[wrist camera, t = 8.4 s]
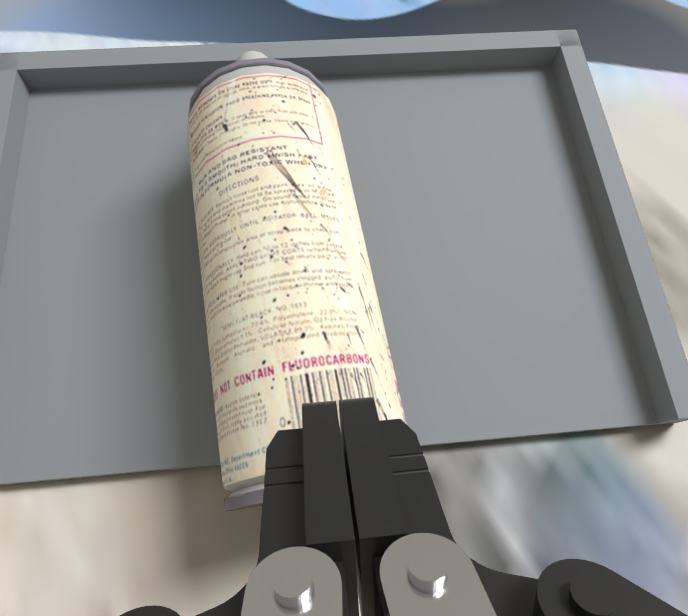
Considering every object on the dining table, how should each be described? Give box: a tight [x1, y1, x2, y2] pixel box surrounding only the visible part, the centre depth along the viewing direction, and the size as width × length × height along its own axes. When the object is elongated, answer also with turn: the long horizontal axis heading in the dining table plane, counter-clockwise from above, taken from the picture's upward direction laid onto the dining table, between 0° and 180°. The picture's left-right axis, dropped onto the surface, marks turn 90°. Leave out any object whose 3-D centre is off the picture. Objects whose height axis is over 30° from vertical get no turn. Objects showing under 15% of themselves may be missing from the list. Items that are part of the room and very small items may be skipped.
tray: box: [0, 30, 688, 485], centre depth 25 cm, size 32×22×2 cm
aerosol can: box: [187, 51, 406, 511], centre depth 22 cm, size 7×7×20 cm
